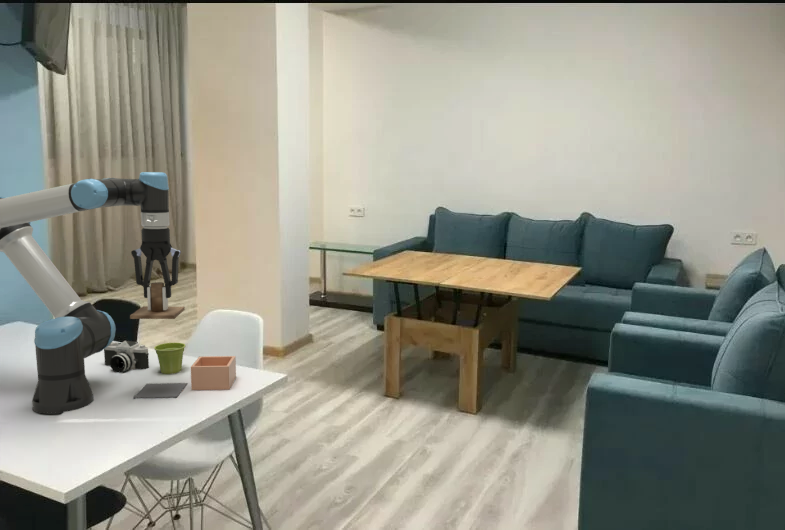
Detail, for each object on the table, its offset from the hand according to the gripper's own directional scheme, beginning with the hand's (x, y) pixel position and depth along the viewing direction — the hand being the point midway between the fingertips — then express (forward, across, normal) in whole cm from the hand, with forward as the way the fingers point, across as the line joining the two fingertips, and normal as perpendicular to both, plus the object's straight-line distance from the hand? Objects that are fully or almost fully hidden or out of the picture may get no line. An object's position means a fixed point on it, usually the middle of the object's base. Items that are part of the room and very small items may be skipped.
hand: (158, 308), depth 193 cm
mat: (+24, 0, 0) cm, 24 cm away
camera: (+25, -18, +21) cm, 37 cm away
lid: (+1, 0, 0) cm, 1 cm away
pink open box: (+24, +14, +6) cm, 29 cm away
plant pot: (+25, -1, +18) cm, 30 cm away
